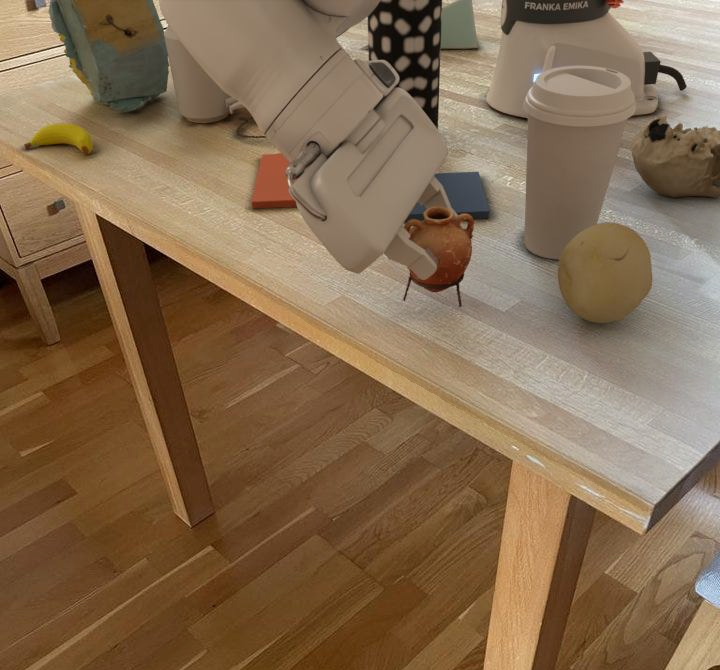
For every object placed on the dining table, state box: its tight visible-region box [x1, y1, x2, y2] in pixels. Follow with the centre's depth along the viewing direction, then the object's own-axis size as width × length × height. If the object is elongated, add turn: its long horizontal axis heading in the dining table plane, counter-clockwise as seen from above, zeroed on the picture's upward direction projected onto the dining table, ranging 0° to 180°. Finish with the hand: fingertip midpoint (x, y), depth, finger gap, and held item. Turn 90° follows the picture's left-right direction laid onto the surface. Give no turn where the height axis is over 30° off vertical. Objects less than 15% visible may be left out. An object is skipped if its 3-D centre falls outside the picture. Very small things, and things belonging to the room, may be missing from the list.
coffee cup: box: [523, 66, 636, 261], centre depth 69 cm, size 10×10×15 cm
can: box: [164, 22, 233, 124], centre depth 100 cm, size 8×8×12 cm
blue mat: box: [405, 171, 491, 222], centre depth 83 cm, size 9×10×1 cm
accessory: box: [235, 116, 267, 139], centre depth 99 cm, size 9×9×1 cm
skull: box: [630, 114, 720, 199], centre depth 81 cm, size 9×18×10 cm
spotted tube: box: [367, 0, 443, 130], centre depth 87 cm, size 8×8×20 cm
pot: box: [402, 206, 475, 308], centre depth 65 cm, size 6×8×6 cm
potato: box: [557, 222, 653, 324], centre depth 63 cm, size 8×8×8 cm
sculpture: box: [48, 0, 170, 114], centre depth 103 cm, size 18×18×15 cm
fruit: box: [23, 122, 94, 155], centre depth 97 cm, size 10×2×5 cm
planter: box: [364, 0, 479, 50], centre depth 121 cm, size 8×6×18 cm
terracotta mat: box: [251, 153, 298, 209], centre depth 87 cm, size 13×13×1 cm
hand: (444, 250), depth 64 cm, fingers closed on pot, 6 cm apart
